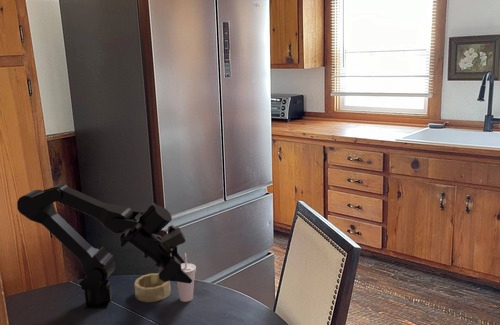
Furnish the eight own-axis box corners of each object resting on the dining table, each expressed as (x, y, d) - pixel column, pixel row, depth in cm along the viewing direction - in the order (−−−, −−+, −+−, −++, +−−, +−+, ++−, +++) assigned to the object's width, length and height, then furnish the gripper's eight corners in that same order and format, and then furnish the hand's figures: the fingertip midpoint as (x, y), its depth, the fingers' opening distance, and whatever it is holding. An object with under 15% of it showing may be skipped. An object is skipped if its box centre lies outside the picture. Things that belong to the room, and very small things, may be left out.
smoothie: (186, 306, 132) (183, 259, 129) (170, 299, 135) (167, 254, 132) (202, 297, 137) (199, 252, 134) (186, 291, 140) (183, 247, 137)
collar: (133, 302, 134) (132, 289, 133) (139, 286, 144) (138, 274, 143) (168, 301, 135) (167, 288, 134) (171, 284, 145) (171, 272, 144)
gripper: (169, 233, 121) (213, 267, 126) (164, 211, 139) (203, 242, 144) (140, 265, 121) (185, 298, 126) (139, 239, 139) (179, 269, 144)
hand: (189, 274), depth 135 cm, fingers open, 9 cm apart
